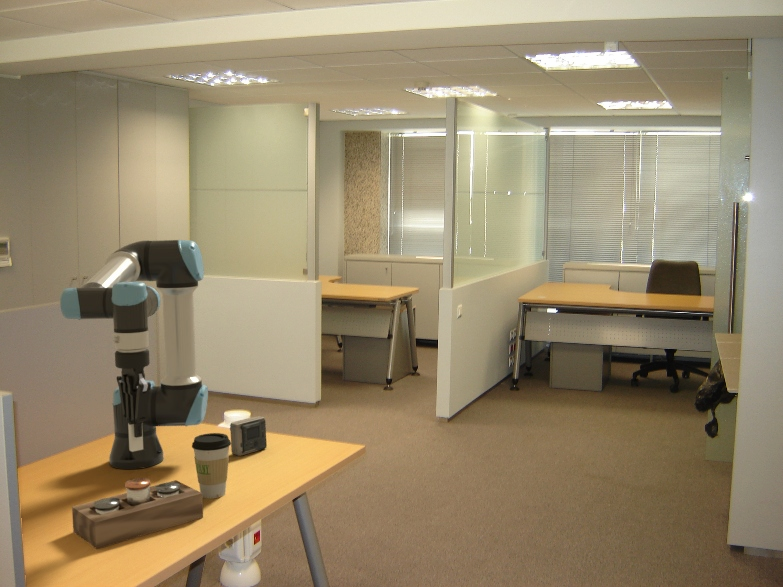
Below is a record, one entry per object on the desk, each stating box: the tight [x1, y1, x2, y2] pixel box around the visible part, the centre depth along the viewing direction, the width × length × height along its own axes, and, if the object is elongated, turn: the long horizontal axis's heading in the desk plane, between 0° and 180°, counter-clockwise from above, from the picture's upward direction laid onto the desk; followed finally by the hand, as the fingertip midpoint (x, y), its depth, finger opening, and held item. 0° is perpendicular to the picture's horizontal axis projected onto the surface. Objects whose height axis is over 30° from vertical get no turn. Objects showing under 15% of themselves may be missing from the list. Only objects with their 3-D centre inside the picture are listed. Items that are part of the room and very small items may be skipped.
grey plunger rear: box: [156, 481, 180, 498], centre depth 194 cm, size 6×6×7 cm
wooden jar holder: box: [71, 479, 204, 550], centre depth 189 cm, size 13×26×6 cm, turn 133°
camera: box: [229, 415, 268, 457], centre depth 245 cm, size 11×6×10 cm, turn 136°
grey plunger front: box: [94, 497, 120, 515], centre depth 184 cm, size 6×6×7 cm
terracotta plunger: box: [124, 477, 151, 506], centre depth 189 cm, size 6×6×7 cm
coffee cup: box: [191, 432, 231, 499], centre depth 209 cm, size 10×10×15 cm
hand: (136, 449), depth 188 cm, fingers closed
